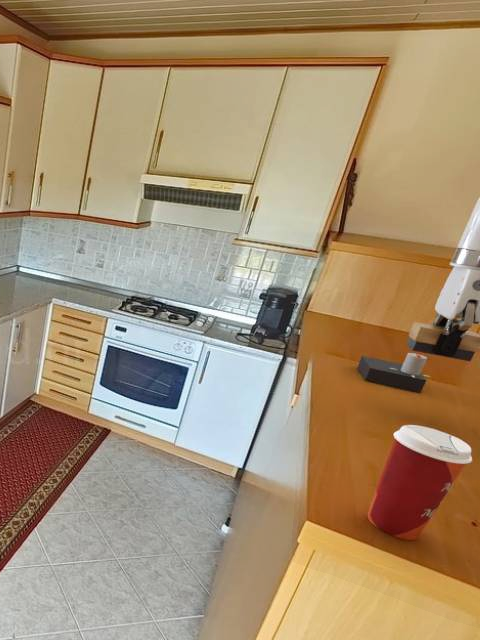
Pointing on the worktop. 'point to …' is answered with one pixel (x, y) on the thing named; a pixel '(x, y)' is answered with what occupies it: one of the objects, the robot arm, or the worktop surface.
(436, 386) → the worktop surface
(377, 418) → the worktop surface
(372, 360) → the stove
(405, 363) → the stove knob
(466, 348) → the brush
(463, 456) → the paper cup
